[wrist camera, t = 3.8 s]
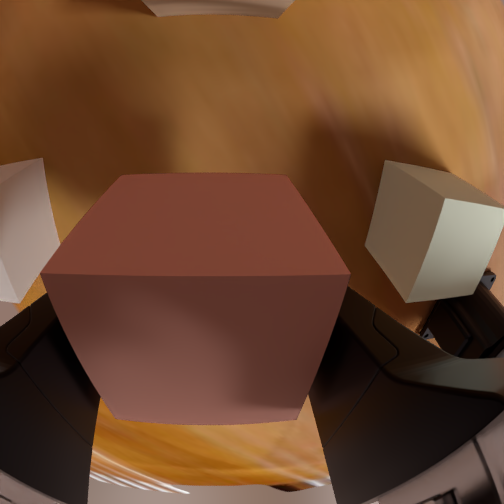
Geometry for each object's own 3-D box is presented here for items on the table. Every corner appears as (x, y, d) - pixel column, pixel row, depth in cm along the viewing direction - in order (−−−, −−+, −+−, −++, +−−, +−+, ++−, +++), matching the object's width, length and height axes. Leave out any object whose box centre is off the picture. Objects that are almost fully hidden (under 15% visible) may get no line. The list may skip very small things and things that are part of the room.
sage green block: (450, 172, 14) (509, 209, 10) (428, 245, 16) (472, 294, 12) (383, 159, 13) (445, 198, 9) (364, 244, 16) (405, 303, 12)
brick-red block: (286, 175, 9) (351, 273, 4) (270, 302, 11) (296, 419, 7) (121, 174, 8) (39, 273, 4) (141, 302, 11) (115, 418, 6)
